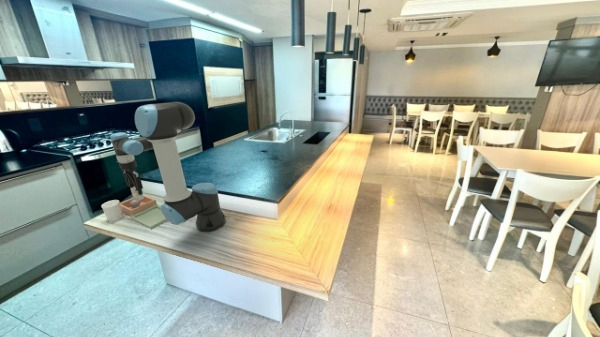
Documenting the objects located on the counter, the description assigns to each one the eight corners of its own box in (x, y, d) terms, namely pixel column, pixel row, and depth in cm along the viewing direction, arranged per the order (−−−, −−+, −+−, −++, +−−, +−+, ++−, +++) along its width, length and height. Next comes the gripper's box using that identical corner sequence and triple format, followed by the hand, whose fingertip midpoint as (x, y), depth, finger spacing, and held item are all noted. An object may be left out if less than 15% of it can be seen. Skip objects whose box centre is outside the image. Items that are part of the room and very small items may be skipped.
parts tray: (177, 216, 132) (176, 213, 132) (151, 230, 121) (150, 226, 120) (157, 207, 141) (156, 204, 141) (131, 219, 130) (130, 216, 129)
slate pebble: (142, 206, 143) (141, 200, 140) (133, 210, 139) (132, 204, 136) (137, 202, 144) (136, 196, 142) (128, 206, 140) (127, 200, 138)
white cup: (110, 224, 126) (103, 208, 122) (105, 219, 130) (99, 204, 126) (126, 217, 132) (121, 202, 128) (121, 213, 136) (116, 198, 132)
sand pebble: (145, 198, 136) (143, 190, 134) (136, 202, 132) (134, 194, 130) (141, 196, 138) (138, 189, 136) (132, 200, 134) (129, 192, 132)
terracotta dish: (157, 206, 142) (155, 199, 140) (133, 218, 131) (130, 210, 129) (144, 201, 149) (142, 194, 147) (120, 211, 138) (117, 204, 136)
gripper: (143, 161, 125) (153, 198, 134) (125, 156, 133) (137, 192, 142) (128, 166, 119) (140, 204, 128) (111, 160, 127) (123, 197, 136)
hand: (138, 198), depth 135 cm, fingers closed on sand pebble, 5 cm apart
